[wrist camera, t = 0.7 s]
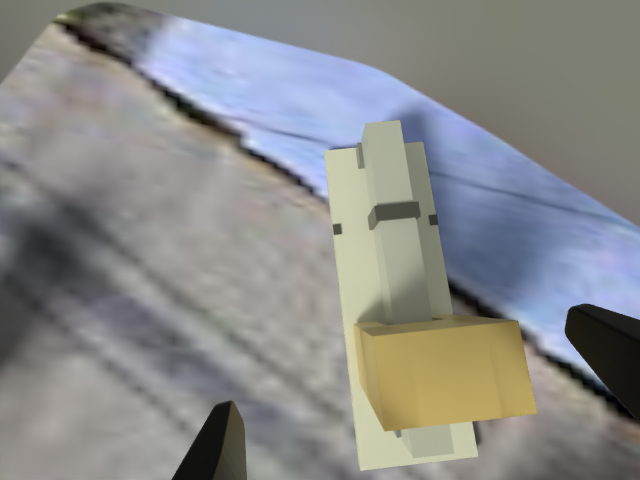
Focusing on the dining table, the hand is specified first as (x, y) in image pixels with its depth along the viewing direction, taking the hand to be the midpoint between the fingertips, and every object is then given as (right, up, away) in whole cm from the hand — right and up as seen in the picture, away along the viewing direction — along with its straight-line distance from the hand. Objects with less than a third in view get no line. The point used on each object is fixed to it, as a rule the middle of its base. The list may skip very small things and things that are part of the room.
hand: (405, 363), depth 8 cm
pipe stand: (+3, 0, +16) cm, 17 cm away
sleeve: (+4, -4, +14) cm, 15 cm away
